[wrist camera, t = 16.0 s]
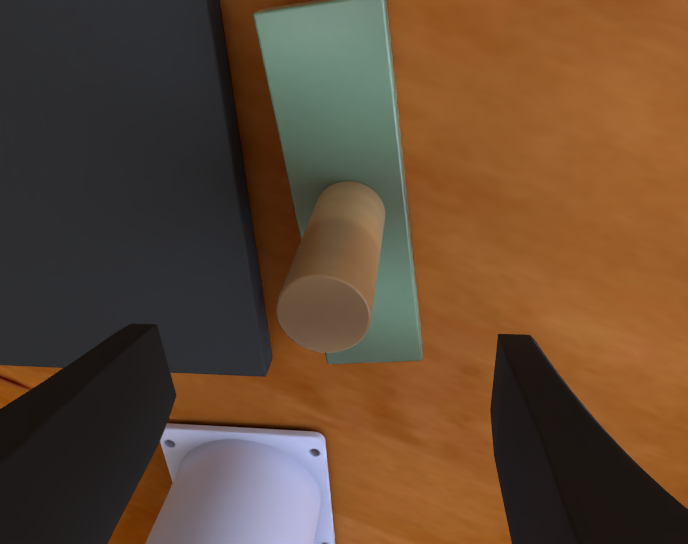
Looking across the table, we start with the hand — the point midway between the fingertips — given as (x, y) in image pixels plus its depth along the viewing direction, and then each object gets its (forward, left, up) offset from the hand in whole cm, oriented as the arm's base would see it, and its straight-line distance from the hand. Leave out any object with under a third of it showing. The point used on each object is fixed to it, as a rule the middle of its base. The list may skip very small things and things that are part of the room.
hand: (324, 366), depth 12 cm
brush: (0, 0, -9) cm, 9 cm away
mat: (0, +14, -9) cm, 17 cm away
